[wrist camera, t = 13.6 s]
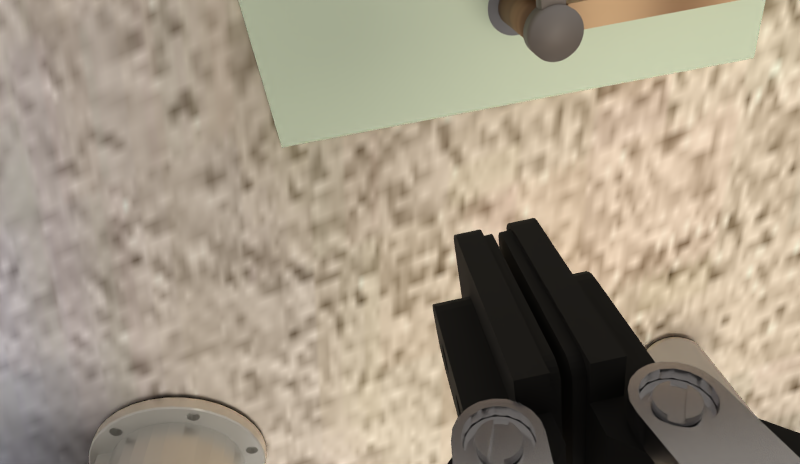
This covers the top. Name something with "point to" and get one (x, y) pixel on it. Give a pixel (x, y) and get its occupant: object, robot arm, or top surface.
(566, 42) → the fence panel
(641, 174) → the top surface
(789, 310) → the top surface
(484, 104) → the board
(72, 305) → the top surface
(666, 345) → the beverage can
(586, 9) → the bar
